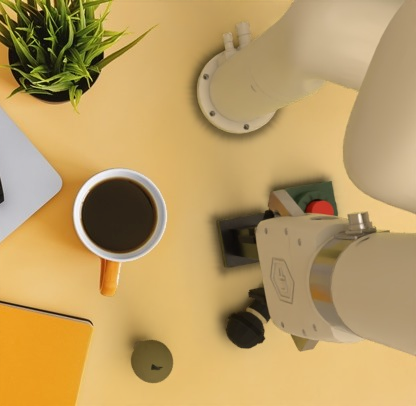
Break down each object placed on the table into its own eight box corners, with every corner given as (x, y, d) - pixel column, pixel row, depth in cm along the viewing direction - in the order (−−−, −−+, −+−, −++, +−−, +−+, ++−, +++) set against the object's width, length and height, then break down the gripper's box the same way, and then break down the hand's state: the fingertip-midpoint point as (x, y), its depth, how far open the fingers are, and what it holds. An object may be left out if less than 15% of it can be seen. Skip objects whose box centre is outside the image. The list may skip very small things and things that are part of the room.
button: (303, 203, 79) (310, 202, 77) (324, 199, 79) (331, 198, 78) (307, 224, 79) (314, 225, 77) (328, 221, 79) (335, 221, 78)
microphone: (294, 235, 86) (214, 332, 82) (307, 225, 80) (222, 328, 76) (324, 258, 84) (244, 358, 80) (339, 249, 79) (255, 355, 75)
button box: (273, 190, 83) (286, 189, 79) (323, 181, 83) (338, 180, 79) (282, 242, 83) (295, 244, 79) (332, 233, 83) (348, 234, 79)
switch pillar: (216, 220, 82) (304, 222, 56) (261, 212, 82) (368, 211, 57) (224, 267, 82) (316, 289, 56) (269, 258, 82) (379, 277, 57)
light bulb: (127, 372, 80) (142, 394, 70) (117, 335, 80) (130, 352, 70) (163, 360, 81) (183, 381, 71) (153, 324, 81) (171, 339, 71)
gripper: (295, 175, 39) (208, 189, 57) (337, 412, 39) (236, 351, 57) (393, 158, 40) (276, 177, 58) (435, 391, 40) (304, 337, 58)
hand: (257, 263), depth 57 cm, fingers closed on switch lever, 5 cm apart
